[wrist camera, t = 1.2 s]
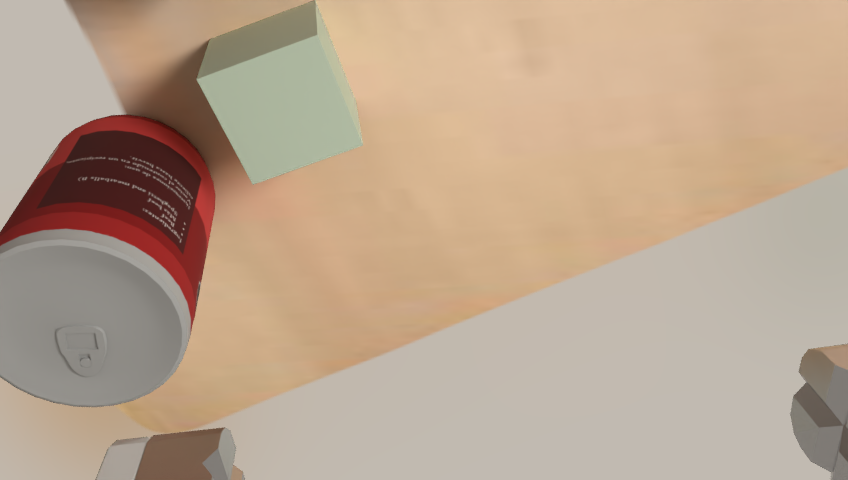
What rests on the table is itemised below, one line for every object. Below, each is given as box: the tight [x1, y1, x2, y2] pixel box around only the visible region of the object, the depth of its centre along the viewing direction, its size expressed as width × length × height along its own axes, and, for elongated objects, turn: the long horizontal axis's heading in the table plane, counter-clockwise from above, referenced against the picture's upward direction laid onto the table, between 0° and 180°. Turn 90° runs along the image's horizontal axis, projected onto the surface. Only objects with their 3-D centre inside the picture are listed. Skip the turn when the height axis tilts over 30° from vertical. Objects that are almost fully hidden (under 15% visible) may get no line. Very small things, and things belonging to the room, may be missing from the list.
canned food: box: [0, 115, 215, 407], centre depth 30 cm, size 8×8×11 cm
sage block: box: [196, 0, 363, 185], centre depth 31 cm, size 5×5×5 cm
